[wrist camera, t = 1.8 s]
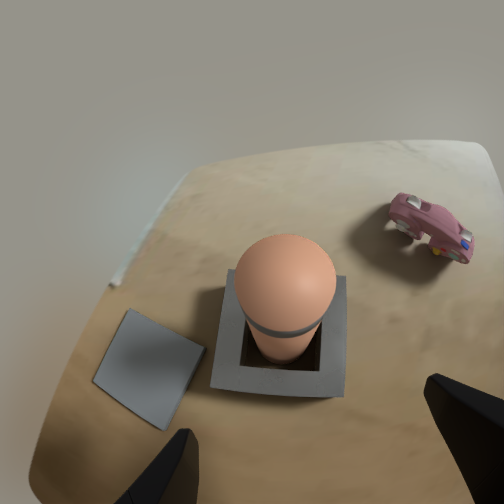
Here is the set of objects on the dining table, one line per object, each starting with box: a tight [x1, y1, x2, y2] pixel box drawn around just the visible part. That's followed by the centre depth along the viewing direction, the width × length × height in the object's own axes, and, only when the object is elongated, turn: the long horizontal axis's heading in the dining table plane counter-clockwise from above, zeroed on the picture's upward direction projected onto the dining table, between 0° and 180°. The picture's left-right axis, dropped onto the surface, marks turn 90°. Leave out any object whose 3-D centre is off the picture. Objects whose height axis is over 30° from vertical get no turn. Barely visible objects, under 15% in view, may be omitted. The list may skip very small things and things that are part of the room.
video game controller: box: [388, 193, 474, 264], centre depth 22 cm, size 10×5×7 cm, turn 53°
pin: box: [234, 234, 336, 364], centre depth 16 cm, size 4×4×12 cm
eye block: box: [210, 269, 347, 397], centre depth 20 cm, size 9×9×3 cm
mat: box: [93, 308, 206, 431], centre depth 20 cm, size 8×8×1 cm
